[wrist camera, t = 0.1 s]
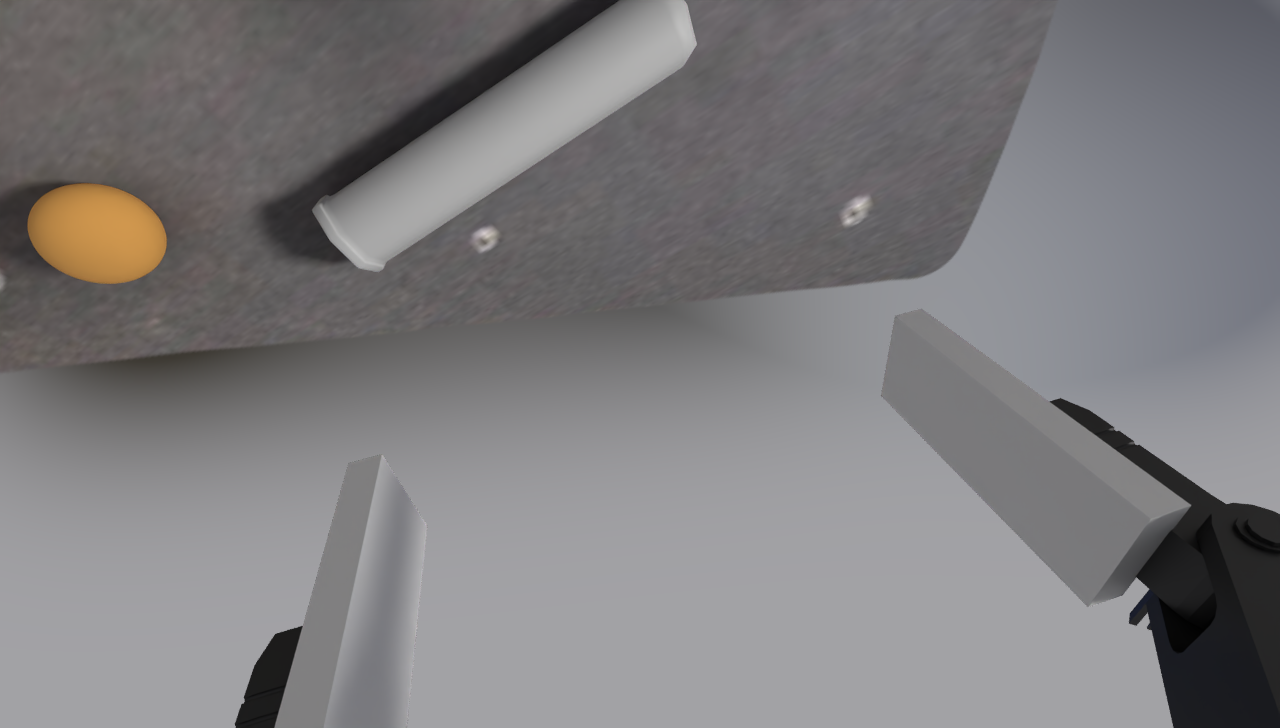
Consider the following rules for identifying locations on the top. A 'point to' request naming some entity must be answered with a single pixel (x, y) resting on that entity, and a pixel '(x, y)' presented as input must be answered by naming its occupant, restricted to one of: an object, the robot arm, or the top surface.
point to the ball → (97, 233)
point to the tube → (507, 129)
